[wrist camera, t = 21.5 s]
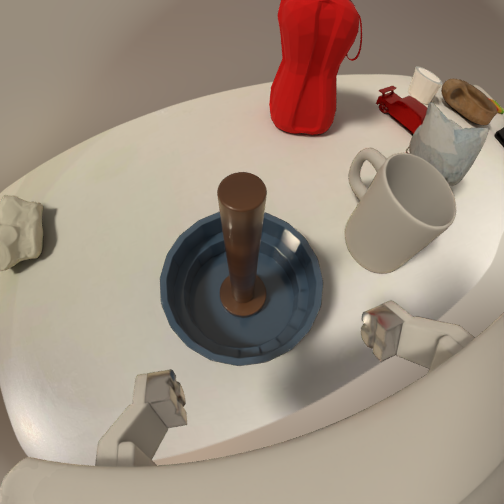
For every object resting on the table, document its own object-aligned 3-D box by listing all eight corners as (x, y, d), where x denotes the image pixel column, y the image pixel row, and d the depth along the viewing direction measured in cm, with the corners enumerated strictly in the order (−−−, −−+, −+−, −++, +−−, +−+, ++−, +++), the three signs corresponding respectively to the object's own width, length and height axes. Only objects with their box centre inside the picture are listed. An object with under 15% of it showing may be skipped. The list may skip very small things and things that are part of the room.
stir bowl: (317, 352, 25) (336, 348, 20) (183, 370, 24) (166, 372, 19) (293, 232, 30) (303, 202, 25) (174, 246, 29) (159, 219, 24)
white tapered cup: (436, 108, 44) (448, 86, 38) (416, 104, 44) (427, 80, 37) (420, 90, 47) (430, 69, 41) (400, 86, 46) (410, 63, 40)
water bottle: (344, 141, 37) (395, -10, 14) (271, 136, 36) (289, -35, 13) (331, 105, 40) (364, -24, 17) (267, 100, 40) (279, -40, 17)
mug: (416, 253, 30) (469, 209, 20) (371, 288, 28) (427, 247, 18) (362, 181, 34) (394, 121, 24) (313, 203, 32) (338, 137, 22)
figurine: (443, 180, 35) (491, 119, 21) (438, 219, 32) (500, 154, 18) (395, 148, 37) (433, 77, 23) (384, 183, 34) (433, 103, 20)
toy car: (372, 106, 41) (380, 86, 37) (386, 100, 43) (393, 81, 38) (430, 155, 37) (443, 136, 33) (440, 146, 39) (452, 128, 34)
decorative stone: (46, 257, 26) (-22, 249, 18) (34, 280, 31) (-22, 276, 22) (49, 185, 29) (-9, 173, 21) (35, 217, 34) (-15, 209, 25)
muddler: (268, 314, 26) (307, 232, 10) (223, 320, 26) (189, 246, 10) (261, 272, 28) (283, 148, 12) (218, 277, 27) (187, 157, 12)
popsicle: (483, 100, 53) (485, 96, 52) (498, 106, 55) (500, 102, 54) (492, 111, 51) (495, 107, 50) (507, 116, 53) (509, 113, 52)
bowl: (466, 130, 40) (477, 92, 33) (426, 102, 49) (433, 68, 41) (497, 134, 42) (507, 104, 35) (462, 109, 51) (469, 80, 43)
